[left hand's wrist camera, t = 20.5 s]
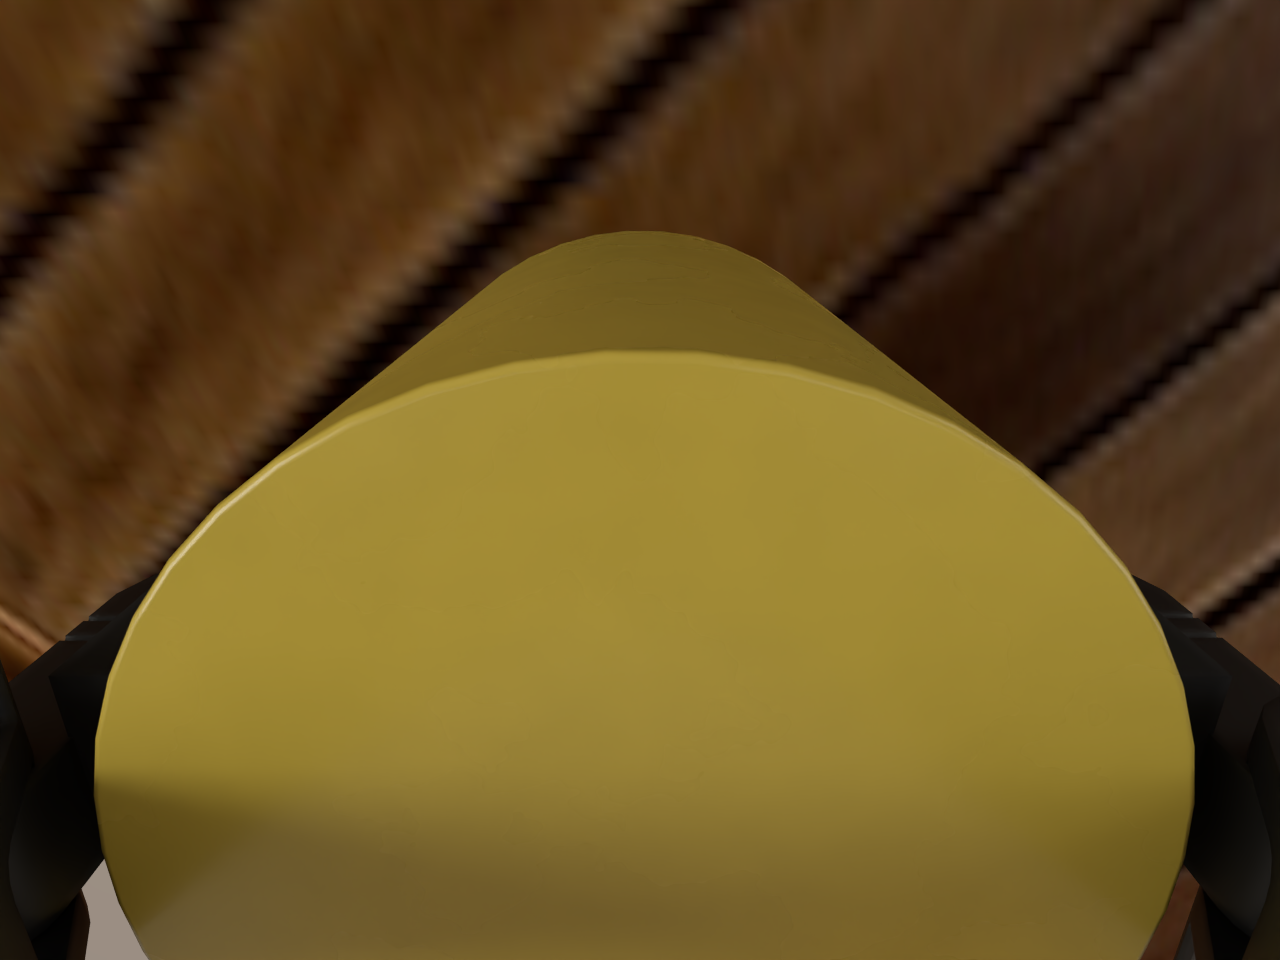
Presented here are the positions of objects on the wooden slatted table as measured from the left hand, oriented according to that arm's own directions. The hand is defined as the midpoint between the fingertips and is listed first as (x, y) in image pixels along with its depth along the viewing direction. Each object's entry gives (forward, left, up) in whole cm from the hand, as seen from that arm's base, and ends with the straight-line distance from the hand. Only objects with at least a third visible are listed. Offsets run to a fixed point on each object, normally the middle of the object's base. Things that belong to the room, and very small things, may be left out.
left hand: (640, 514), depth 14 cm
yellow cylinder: (0, 0, -2) cm, 2 cm away
